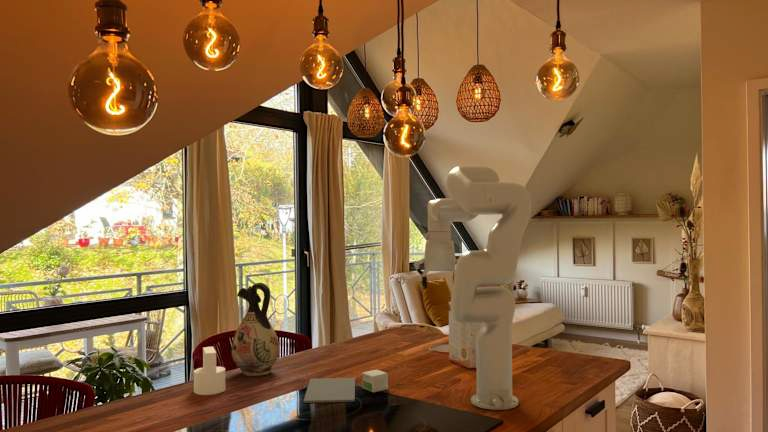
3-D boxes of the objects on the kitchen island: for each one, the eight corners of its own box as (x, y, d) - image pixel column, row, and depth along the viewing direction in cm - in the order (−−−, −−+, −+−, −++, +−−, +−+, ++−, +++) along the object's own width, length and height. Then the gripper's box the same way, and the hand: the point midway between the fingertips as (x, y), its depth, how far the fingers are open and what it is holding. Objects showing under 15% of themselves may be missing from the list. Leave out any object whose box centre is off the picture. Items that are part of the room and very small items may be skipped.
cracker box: (484, 367, 197) (483, 305, 197) (468, 369, 194) (467, 306, 195) (463, 358, 210) (462, 300, 210) (448, 360, 207) (447, 301, 208)
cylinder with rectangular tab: (192, 388, 176) (192, 348, 176) (223, 384, 180) (223, 345, 180) (195, 396, 168) (194, 354, 168) (227, 392, 171) (226, 351, 171)
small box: (361, 388, 174) (361, 372, 174) (377, 385, 178) (377, 368, 178) (372, 393, 170) (372, 376, 170) (388, 389, 173) (388, 372, 173)
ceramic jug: (221, 376, 189) (220, 283, 189) (253, 365, 203) (252, 278, 203) (262, 382, 181) (261, 285, 181) (292, 370, 195) (292, 280, 195)
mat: (354, 401, 162) (354, 399, 162) (303, 402, 161) (303, 400, 161) (355, 379, 184) (355, 377, 184) (310, 380, 183) (310, 378, 183)
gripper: (414, 237, 191) (414, 290, 191) (466, 237, 192) (467, 289, 192) (412, 236, 199) (413, 287, 199) (463, 236, 199) (464, 286, 199)
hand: (439, 288), depth 195 cm, fingers open, 9 cm apart
